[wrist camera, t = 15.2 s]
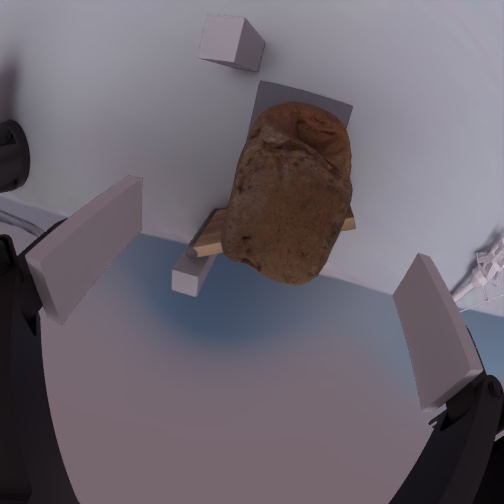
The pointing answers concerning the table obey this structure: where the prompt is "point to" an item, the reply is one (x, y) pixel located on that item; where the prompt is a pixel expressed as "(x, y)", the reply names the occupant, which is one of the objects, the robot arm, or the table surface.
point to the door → (211, 230)
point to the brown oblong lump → (289, 193)
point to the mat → (281, 94)
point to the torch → (484, 272)
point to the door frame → (236, 56)
